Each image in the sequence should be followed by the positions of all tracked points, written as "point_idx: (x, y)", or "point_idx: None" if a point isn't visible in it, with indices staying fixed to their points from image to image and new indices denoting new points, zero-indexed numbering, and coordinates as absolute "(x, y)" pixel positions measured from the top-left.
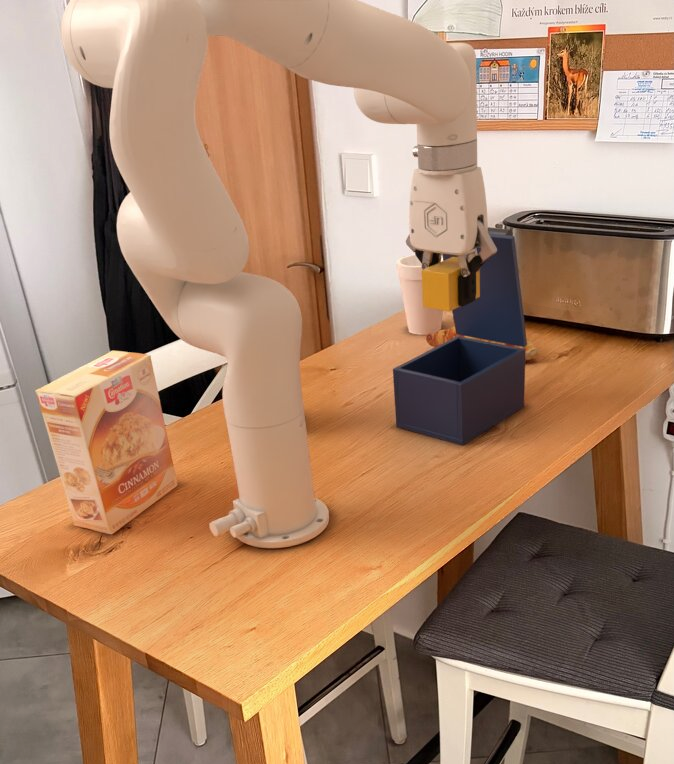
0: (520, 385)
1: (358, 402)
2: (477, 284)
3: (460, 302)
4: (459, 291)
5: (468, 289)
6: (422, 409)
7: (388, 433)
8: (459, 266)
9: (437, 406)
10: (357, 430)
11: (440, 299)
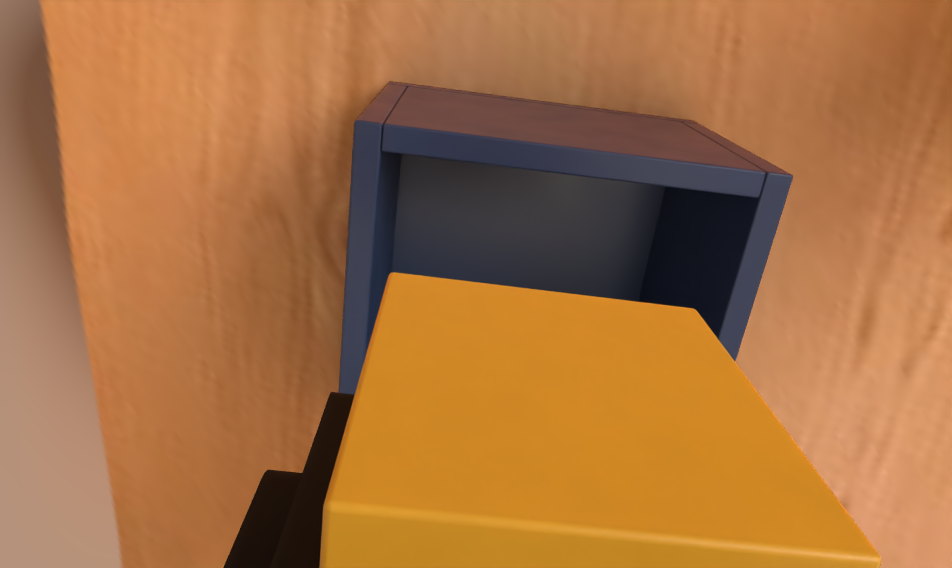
0: None
1: (922, 251)
2: None
3: (339, 404)
4: (332, 471)
5: (254, 523)
6: (582, 120)
7: (698, 59)
8: None
9: (504, 115)
10: (829, 32)
11: (491, 323)
